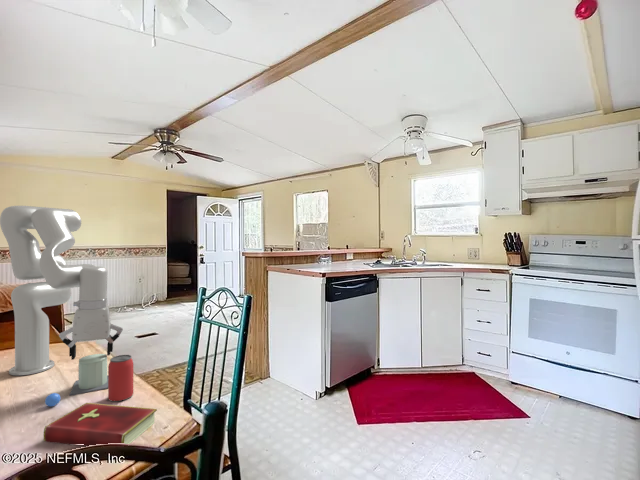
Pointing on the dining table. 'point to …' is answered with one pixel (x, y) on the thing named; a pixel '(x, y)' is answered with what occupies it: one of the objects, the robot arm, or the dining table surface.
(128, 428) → the hardcover book
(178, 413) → the dining table surface
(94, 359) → the mint green domed cylinder
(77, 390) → the slate mat
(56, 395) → the marble
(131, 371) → the beer can
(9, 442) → the dining table surface
